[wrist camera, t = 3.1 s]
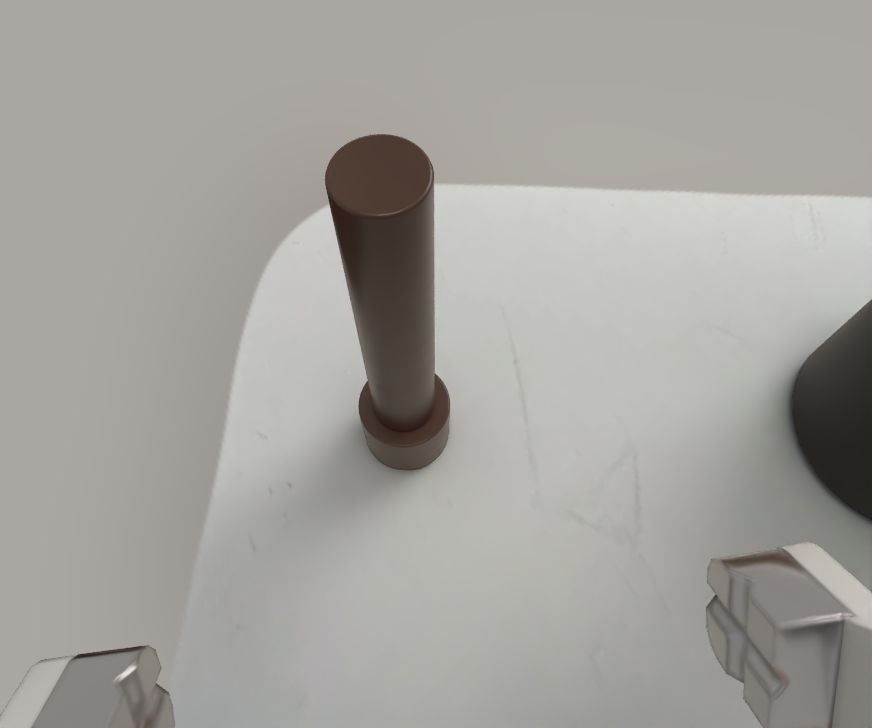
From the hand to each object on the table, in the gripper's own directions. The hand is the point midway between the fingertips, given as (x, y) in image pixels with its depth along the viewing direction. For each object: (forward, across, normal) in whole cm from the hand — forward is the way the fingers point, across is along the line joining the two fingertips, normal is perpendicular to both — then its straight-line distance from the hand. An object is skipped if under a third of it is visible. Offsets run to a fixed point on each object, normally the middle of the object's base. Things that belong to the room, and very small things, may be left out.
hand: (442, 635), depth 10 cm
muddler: (+19, 0, +5) cm, 19 cm away
